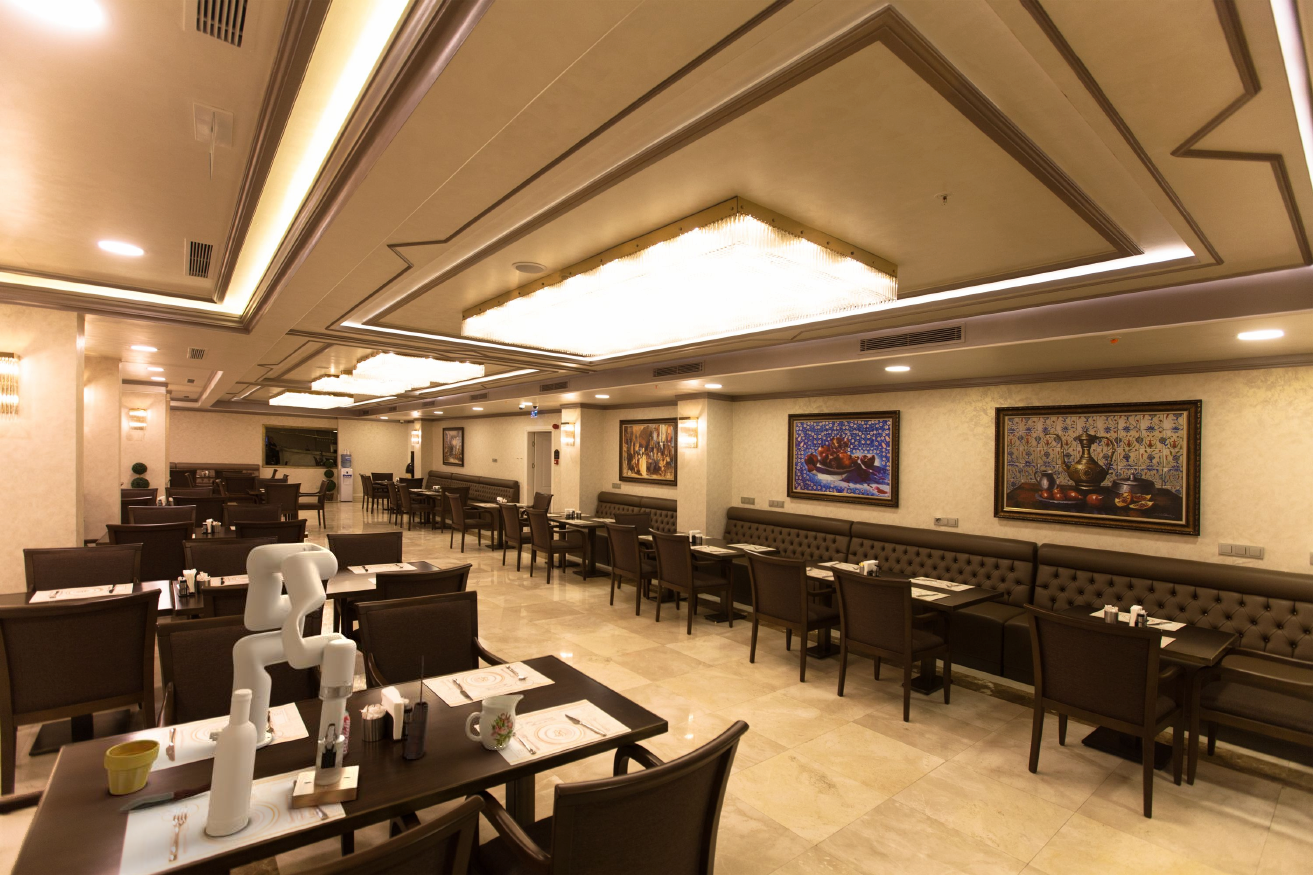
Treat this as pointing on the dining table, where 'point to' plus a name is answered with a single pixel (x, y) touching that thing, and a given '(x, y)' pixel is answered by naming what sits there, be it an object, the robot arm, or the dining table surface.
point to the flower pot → (130, 765)
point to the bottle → (233, 770)
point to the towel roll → (329, 774)
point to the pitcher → (495, 721)
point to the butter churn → (417, 727)
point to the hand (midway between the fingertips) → (329, 759)
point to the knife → (164, 798)
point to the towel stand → (325, 789)
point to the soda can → (345, 731)
